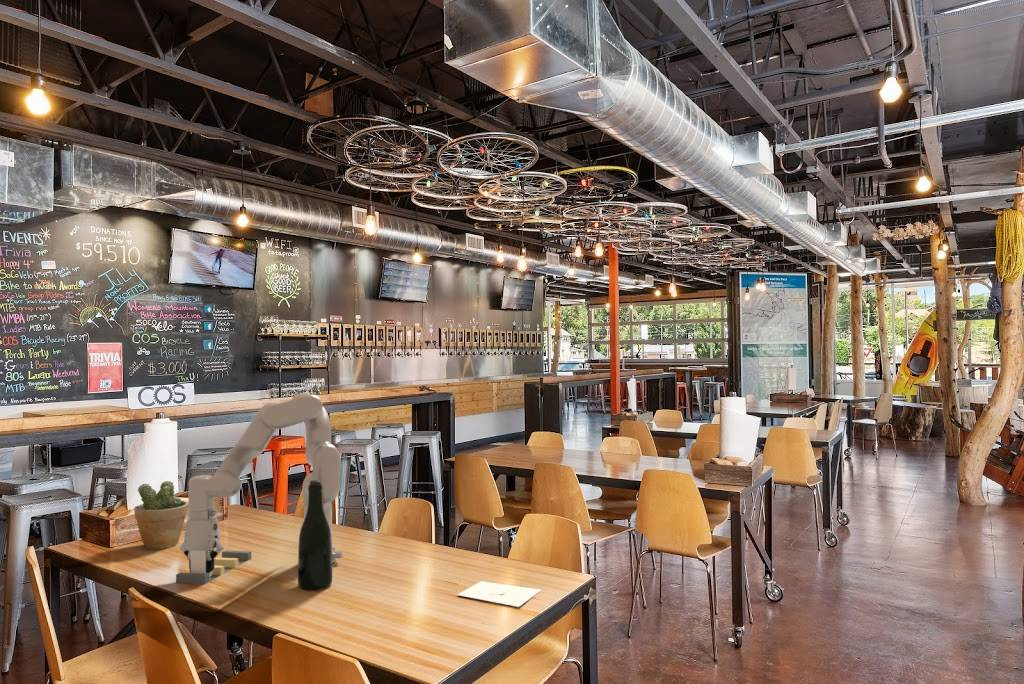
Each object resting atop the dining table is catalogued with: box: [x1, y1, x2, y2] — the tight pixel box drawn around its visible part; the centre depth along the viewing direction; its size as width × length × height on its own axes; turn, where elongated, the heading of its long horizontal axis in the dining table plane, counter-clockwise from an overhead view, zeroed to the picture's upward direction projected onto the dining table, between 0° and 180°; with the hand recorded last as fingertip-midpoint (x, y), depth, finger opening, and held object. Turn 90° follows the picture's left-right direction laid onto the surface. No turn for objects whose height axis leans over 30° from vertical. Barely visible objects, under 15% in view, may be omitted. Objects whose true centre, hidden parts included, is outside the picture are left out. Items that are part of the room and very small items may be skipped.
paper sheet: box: [456, 580, 542, 608], centre depth 197 cm, size 24×29×1 cm
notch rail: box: [175, 550, 252, 585], centre depth 211 cm, size 10×26×4 cm, turn 172°
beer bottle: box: [297, 480, 333, 592], centre depth 200 cm, size 10×10×33 cm
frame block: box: [191, 550, 213, 577], centre depth 204 cm, size 5×4×9 cm
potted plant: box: [133, 480, 189, 551], centre depth 247 cm, size 18×19×25 cm
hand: (201, 570), depth 204 cm, fingers closed on frame block, 5 cm apart
